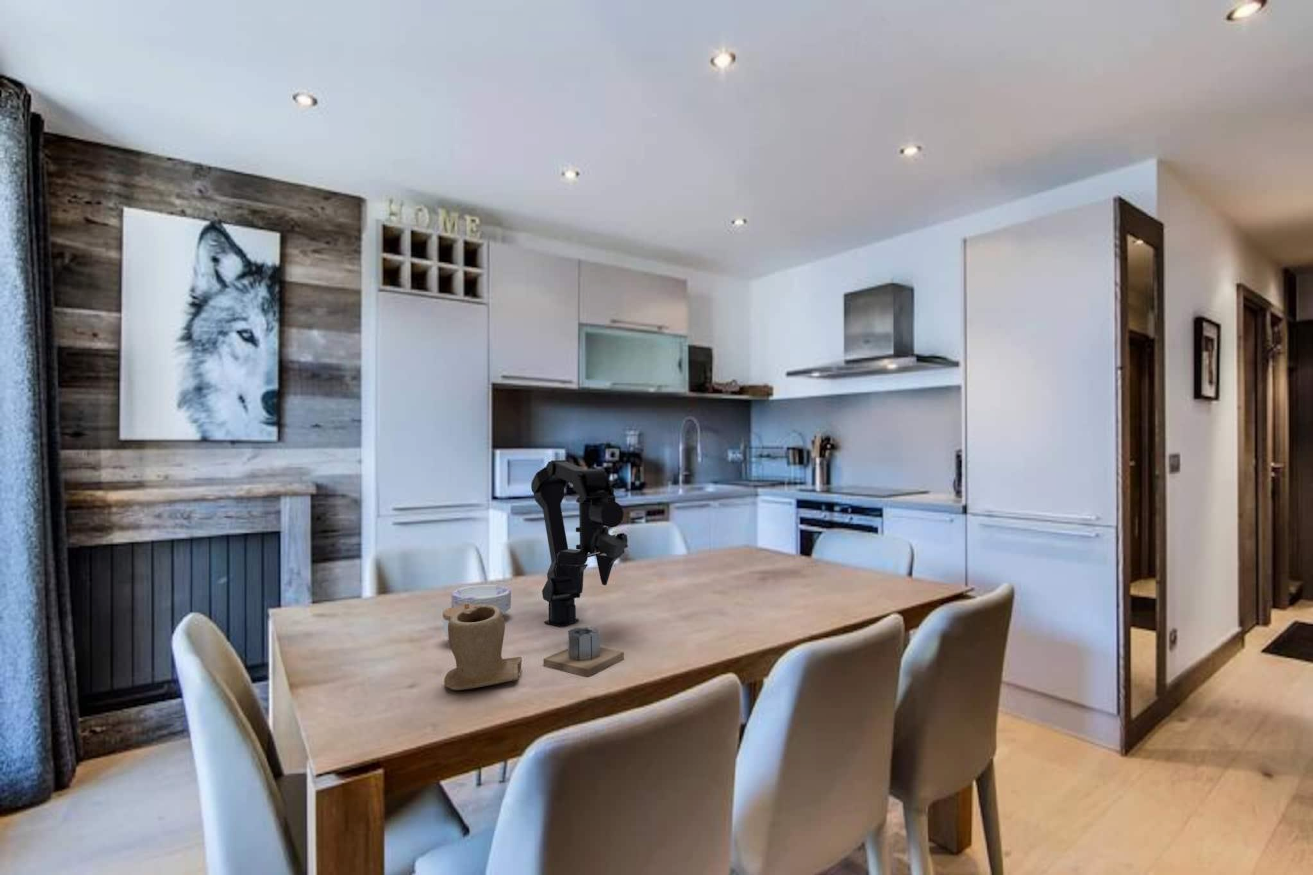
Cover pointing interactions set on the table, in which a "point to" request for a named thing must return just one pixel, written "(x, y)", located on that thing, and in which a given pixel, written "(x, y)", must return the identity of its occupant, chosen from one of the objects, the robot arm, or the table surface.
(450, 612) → the lidded jar
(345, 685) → the table surface
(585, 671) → the block
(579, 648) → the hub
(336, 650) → the table surface
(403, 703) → the table surface
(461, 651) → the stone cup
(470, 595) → the paper bowls
